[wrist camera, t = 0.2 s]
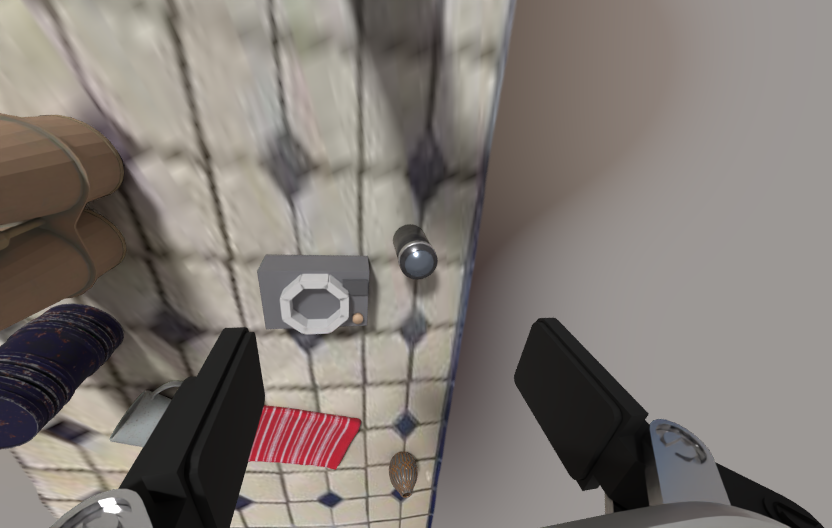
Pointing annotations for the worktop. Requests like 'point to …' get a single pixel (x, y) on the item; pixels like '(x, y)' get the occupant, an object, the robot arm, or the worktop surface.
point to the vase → (403, 473)
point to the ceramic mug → (142, 417)
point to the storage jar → (50, 366)
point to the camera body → (314, 292)
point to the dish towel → (302, 437)
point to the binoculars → (53, 212)
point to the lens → (414, 252)
